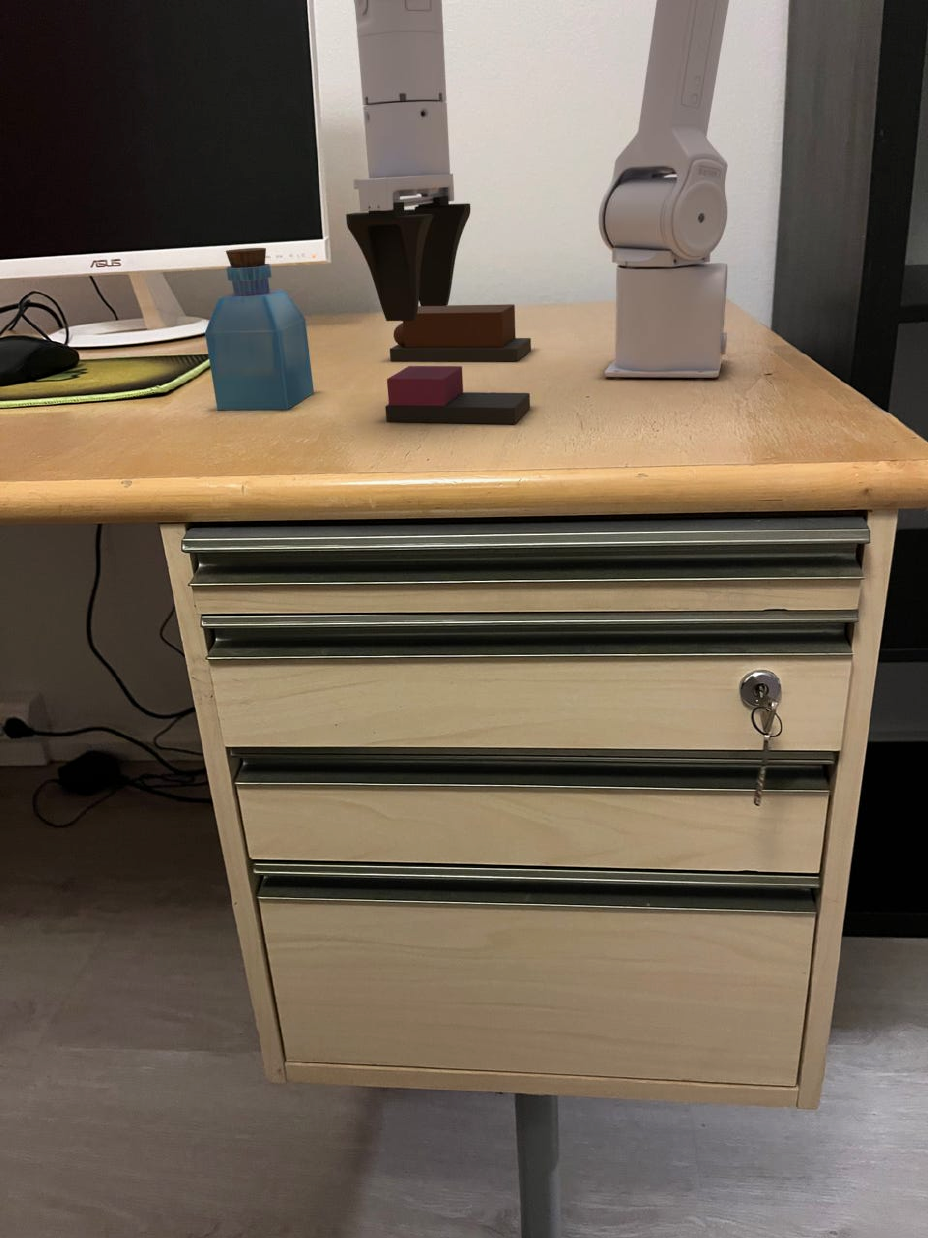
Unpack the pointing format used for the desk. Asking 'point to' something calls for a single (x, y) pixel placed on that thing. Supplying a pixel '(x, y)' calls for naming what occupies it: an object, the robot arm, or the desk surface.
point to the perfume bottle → (257, 341)
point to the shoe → (460, 335)
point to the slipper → (448, 399)
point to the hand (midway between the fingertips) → (418, 312)
